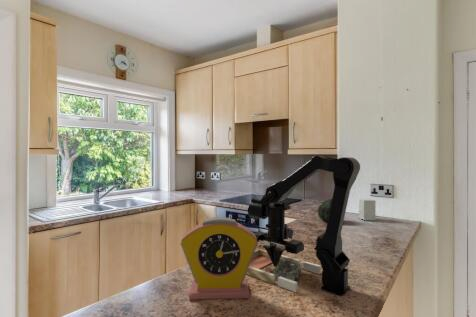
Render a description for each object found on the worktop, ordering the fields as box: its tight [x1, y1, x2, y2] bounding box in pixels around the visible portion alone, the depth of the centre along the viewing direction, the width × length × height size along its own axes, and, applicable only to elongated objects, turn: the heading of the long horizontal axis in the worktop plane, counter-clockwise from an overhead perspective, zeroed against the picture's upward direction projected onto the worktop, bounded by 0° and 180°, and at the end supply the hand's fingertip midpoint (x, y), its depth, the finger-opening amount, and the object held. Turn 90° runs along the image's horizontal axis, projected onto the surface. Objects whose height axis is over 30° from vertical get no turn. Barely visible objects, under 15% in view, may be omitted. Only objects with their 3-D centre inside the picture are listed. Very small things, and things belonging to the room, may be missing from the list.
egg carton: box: [272, 258, 303, 282], centre depth 92 cm, size 11×8×4 cm
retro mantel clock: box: [180, 216, 259, 301], centre depth 81 cm, size 22×9×22 cm, turn 93°
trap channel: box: [246, 248, 301, 284], centre depth 98 cm, size 18×17×2 cm
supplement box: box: [358, 198, 377, 221], centre depth 172 cm, size 7×7×13 cm
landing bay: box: [277, 261, 322, 293], centre depth 89 cm, size 6×17×2 cm, turn 139°
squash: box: [317, 198, 332, 222], centre depth 167 cm, size 14×15×15 cm
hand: (275, 266), depth 95 cm, fingers closed
